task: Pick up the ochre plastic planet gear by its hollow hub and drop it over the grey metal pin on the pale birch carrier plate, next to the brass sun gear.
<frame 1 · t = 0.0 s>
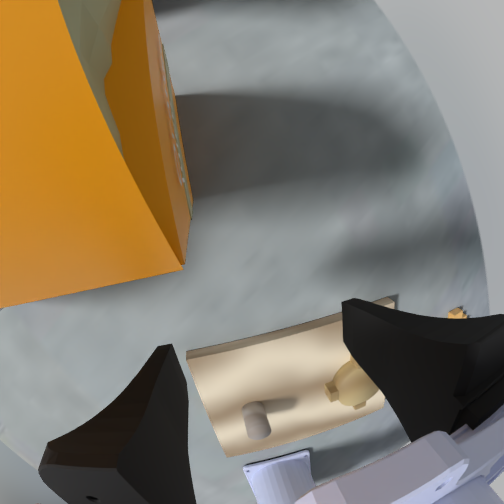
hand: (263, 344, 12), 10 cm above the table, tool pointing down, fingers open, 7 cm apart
carrier plate: (302, 386, 25), on the table
orange juice: (122, 162, 18), on the table
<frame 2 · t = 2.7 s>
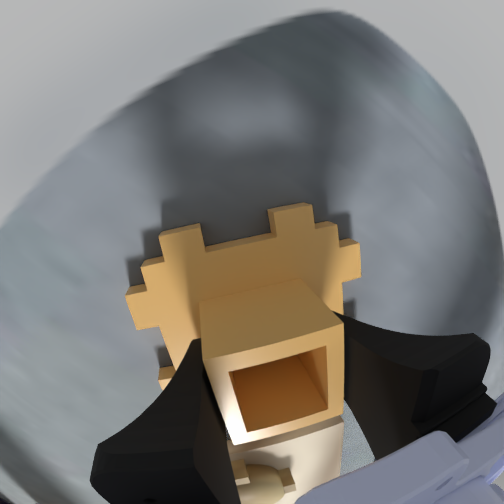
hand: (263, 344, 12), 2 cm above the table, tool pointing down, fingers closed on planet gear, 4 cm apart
planet gear: (254, 323, 13), on the table, touching gripper
carrier plate: (253, 495, 18), on the table
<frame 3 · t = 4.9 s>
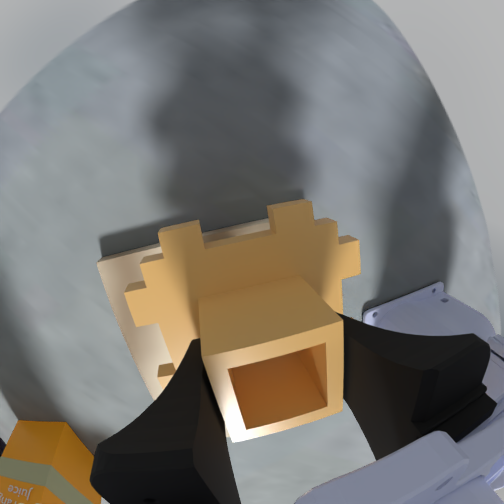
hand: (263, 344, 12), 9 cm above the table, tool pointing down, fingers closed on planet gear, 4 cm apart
planet gear: (253, 319, 13), point 7 cm above the table, touching gripper
carrier plate: (230, 348, 21), on the table
orange juice: (61, 445, 22), on the table
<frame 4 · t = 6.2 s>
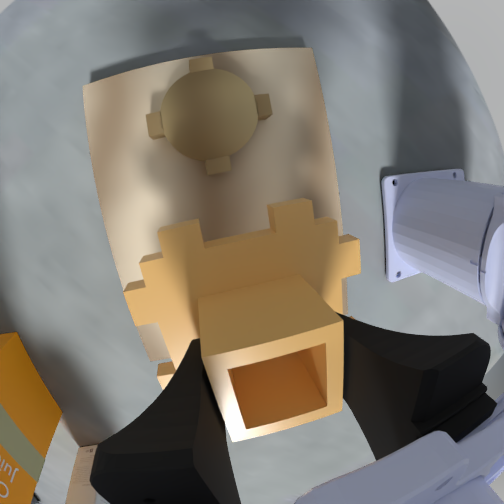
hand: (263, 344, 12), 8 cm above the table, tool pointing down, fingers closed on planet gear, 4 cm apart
skincare box: (110, 459, 22), on the table
planet gear: (253, 318, 13), point 6 cm above the table, touching gripper
carrier plate: (222, 202, 17), on the table
orange juice: (13, 375, 18), on the table
when the fingers open (4 cm above the table, at t = 7.4 s): planet gear stays where it is, resting on carrier plate.
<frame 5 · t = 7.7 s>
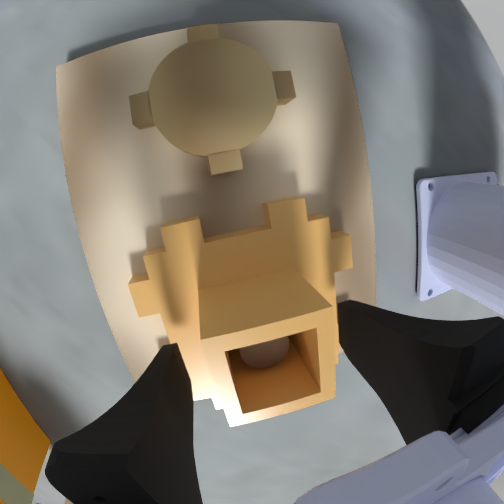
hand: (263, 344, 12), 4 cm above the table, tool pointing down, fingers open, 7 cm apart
planet gear: (250, 311, 14), point 1 cm above the table, touching carrier plate
carrier plate: (228, 209, 14), on the table
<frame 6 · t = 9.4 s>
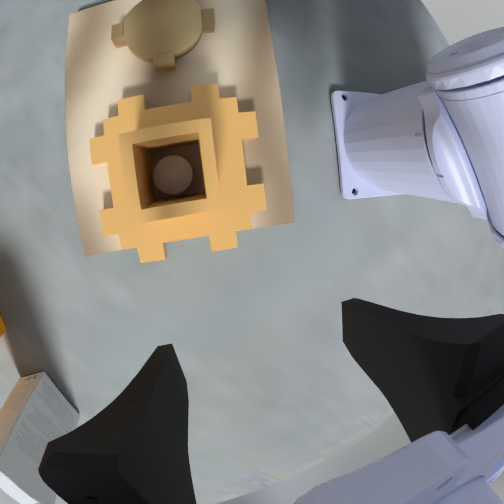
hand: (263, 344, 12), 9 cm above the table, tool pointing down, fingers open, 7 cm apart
skincare box: (50, 396, 21), on the table
planet gear: (176, 171, 17), point 1 cm above the table, touching carrier plate
carrier plate: (169, 101, 17), on the table
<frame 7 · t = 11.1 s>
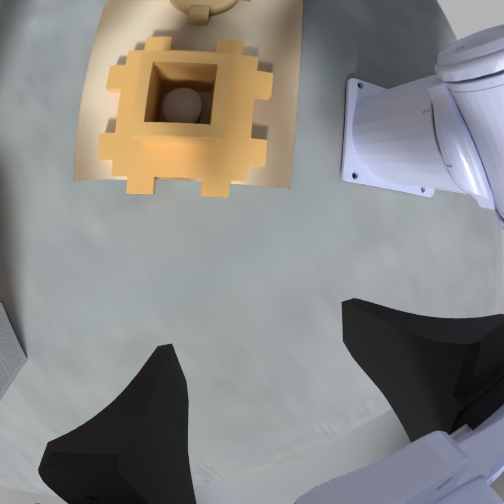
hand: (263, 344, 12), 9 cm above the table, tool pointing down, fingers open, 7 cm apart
skincare box: (2, 332, 18), on the table
planet gear: (184, 113, 16), point 1 cm above the table, touching carrier plate
carrier plate: (194, 52, 16), on the table
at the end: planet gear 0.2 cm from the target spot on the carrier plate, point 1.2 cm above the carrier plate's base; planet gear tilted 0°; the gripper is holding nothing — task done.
